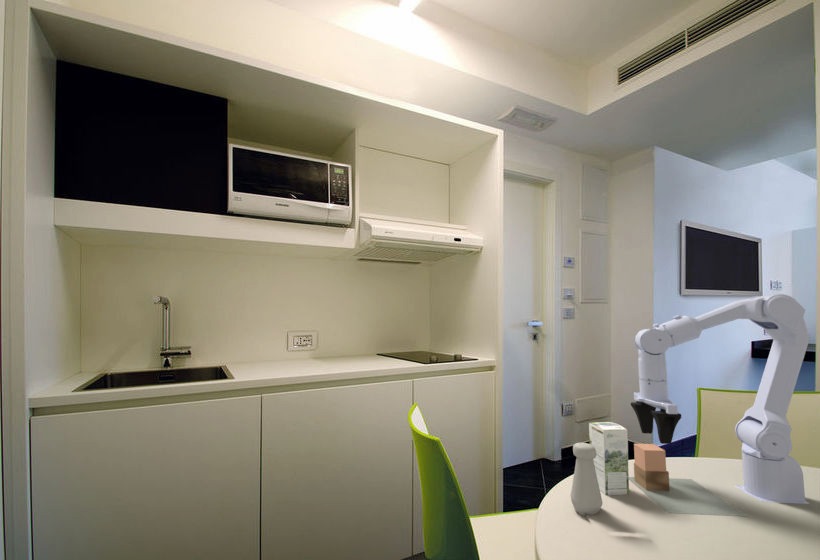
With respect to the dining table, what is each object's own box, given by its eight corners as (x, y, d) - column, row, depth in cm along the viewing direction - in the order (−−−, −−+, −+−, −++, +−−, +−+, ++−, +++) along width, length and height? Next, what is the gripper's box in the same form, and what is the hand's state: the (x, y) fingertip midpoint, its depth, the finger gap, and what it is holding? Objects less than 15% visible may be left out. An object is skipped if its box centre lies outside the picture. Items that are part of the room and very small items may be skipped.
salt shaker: (596, 505, 80) (594, 440, 81) (607, 520, 74) (605, 449, 75) (566, 503, 80) (565, 439, 81) (575, 518, 75) (574, 448, 76)
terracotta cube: (654, 463, 90) (653, 444, 91) (666, 471, 86) (665, 450, 86) (634, 463, 91) (633, 443, 91) (645, 471, 86) (644, 450, 87)
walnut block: (656, 481, 90) (655, 463, 91) (669, 491, 85) (668, 472, 86) (634, 480, 91) (633, 462, 91) (646, 490, 86) (645, 471, 86)
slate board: (691, 481, 92) (691, 479, 92) (749, 519, 75) (749, 516, 75) (626, 479, 93) (625, 476, 93) (668, 516, 76) (668, 512, 76)
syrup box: (612, 485, 89) (610, 420, 91) (630, 497, 84) (627, 428, 85) (589, 486, 89) (587, 421, 90) (606, 498, 83) (603, 428, 84)
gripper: (620, 374, 100) (623, 428, 99) (652, 384, 86) (656, 448, 84) (649, 374, 100) (651, 429, 98) (685, 385, 85) (689, 448, 84)
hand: (655, 438), depth 91 cm, fingers open, 7 cm apart
